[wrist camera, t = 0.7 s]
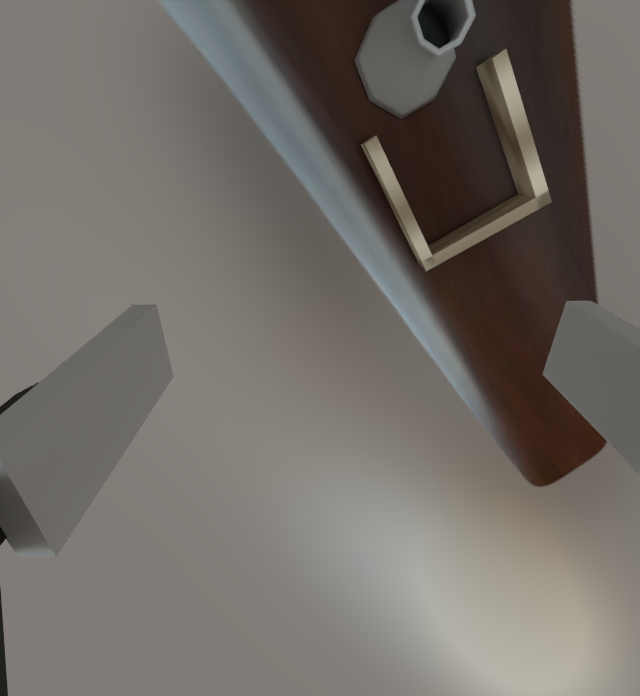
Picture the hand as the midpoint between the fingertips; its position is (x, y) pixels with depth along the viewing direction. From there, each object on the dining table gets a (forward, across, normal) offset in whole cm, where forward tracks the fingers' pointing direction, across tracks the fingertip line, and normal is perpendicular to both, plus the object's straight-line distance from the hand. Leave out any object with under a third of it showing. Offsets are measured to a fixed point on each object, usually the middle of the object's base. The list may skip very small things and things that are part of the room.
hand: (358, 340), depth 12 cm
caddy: (+24, +9, +4) cm, 26 cm away
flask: (+24, +5, +11) cm, 27 cm away
